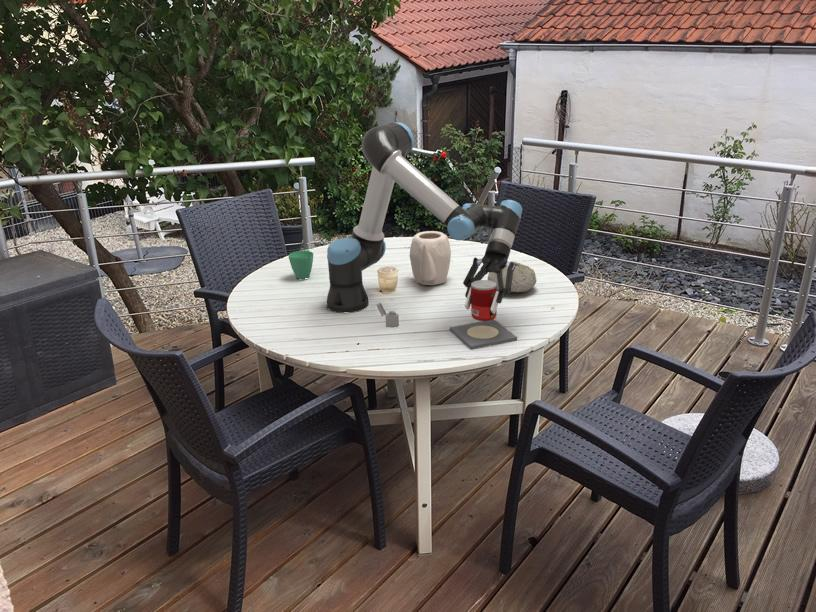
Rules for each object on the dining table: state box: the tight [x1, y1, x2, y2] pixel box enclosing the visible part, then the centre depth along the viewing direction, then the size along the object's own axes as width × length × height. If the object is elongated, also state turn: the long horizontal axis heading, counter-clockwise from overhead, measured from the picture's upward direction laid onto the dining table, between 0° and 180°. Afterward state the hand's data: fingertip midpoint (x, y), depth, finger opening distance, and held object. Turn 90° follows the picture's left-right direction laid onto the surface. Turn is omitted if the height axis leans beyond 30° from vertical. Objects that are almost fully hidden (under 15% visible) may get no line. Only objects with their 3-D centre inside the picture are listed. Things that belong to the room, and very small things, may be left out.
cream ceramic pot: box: [409, 230, 452, 286], centre depth 263 cm, size 16×27×19 cm, turn 169°
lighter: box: [375, 302, 400, 328], centre depth 227 cm, size 7×2×8 cm, turn 77°
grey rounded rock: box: [486, 260, 537, 293], centre depth 254 cm, size 18×18×10 cm
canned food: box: [470, 279, 498, 322], centre depth 214 cm, size 8×8×11 cm
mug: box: [288, 248, 314, 279], centre depth 277 cm, size 15×10×10 cm
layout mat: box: [449, 319, 518, 350], centre depth 218 cm, size 16×16×1 cm
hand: (479, 309), depth 212 cm, fingers closed on canned food, 8 cm apart
